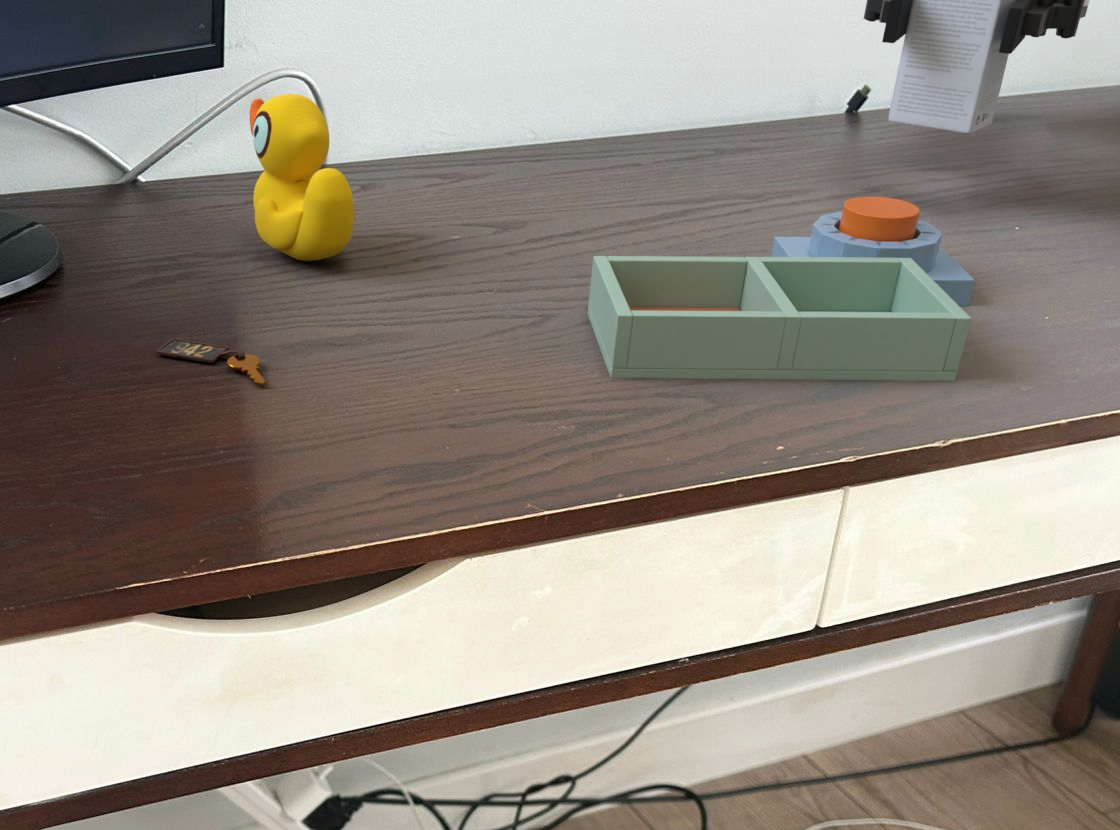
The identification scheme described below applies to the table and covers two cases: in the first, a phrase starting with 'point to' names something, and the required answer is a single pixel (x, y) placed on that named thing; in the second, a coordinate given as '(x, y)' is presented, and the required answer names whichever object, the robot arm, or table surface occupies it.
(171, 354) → the key tag
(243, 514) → the table surface
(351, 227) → the duckling
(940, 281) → the button base
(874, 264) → the tray
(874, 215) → the button
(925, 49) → the cosmetic box
